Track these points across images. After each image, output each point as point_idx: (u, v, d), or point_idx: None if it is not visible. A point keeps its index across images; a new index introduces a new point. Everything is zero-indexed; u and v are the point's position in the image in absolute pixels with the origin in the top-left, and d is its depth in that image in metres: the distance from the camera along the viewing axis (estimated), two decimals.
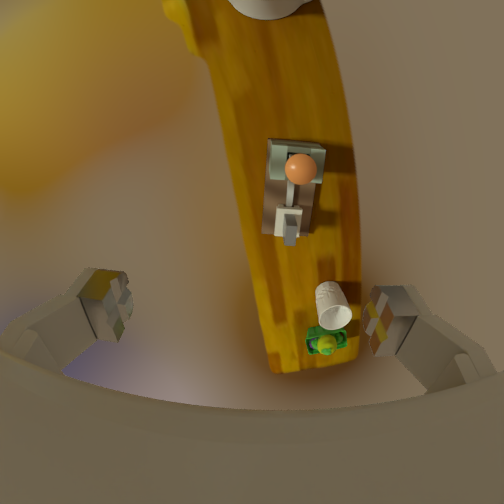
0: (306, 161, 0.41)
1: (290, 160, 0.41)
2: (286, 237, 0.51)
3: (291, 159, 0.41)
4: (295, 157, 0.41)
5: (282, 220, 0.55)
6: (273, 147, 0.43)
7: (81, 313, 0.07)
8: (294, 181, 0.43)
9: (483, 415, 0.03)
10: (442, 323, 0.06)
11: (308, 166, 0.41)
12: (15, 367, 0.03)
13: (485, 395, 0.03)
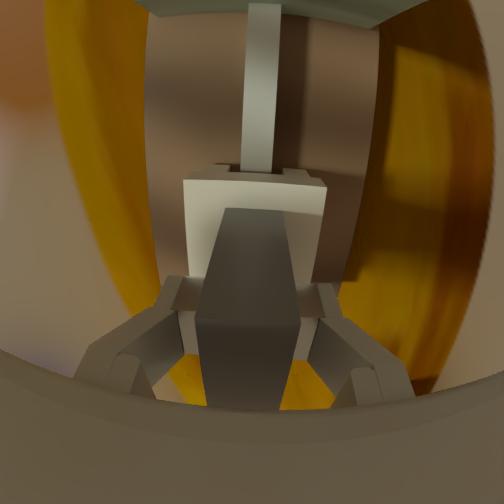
0: None
1: None
2: (212, 384, 0.06)
3: None
4: None
5: None
6: None
7: (175, 327, 0.07)
8: None
9: (483, 415, 0.03)
10: (351, 328, 0.06)
11: None
12: (15, 367, 0.03)
13: (485, 395, 0.03)
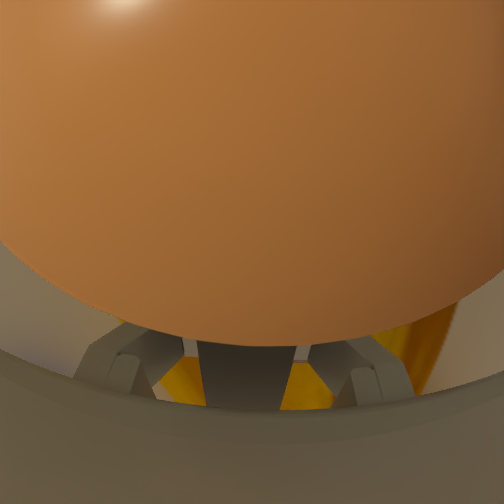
0: None
1: None
2: (212, 388, 0.06)
3: None
4: None
5: None
6: None
7: None
8: (84, 266, 0.01)
9: (483, 415, 0.03)
10: None
11: None
12: (15, 367, 0.03)
13: (485, 395, 0.03)
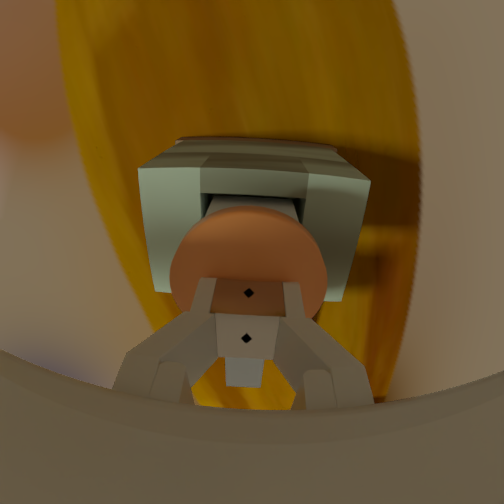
0: (274, 253, 0.08)
1: (187, 251, 0.08)
2: (229, 371, 0.14)
3: (191, 246, 0.08)
4: (211, 235, 0.08)
5: None
6: (142, 178, 0.10)
7: (213, 331, 0.07)
8: None
9: (483, 415, 0.03)
10: (312, 329, 0.06)
11: (285, 276, 0.08)
12: (15, 367, 0.03)
13: (485, 395, 0.03)
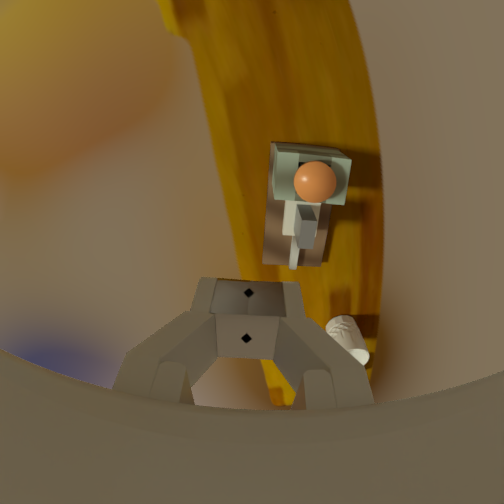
0: (323, 171, 0.30)
1: (301, 170, 0.30)
2: (301, 237, 0.35)
3: (303, 169, 0.30)
4: (308, 166, 0.30)
5: (293, 213, 0.39)
6: (279, 155, 0.31)
7: (213, 331, 0.07)
8: (306, 198, 0.32)
9: (483, 415, 0.03)
10: (312, 328, 0.06)
11: (325, 178, 0.31)
12: (15, 367, 0.03)
13: (485, 395, 0.03)
